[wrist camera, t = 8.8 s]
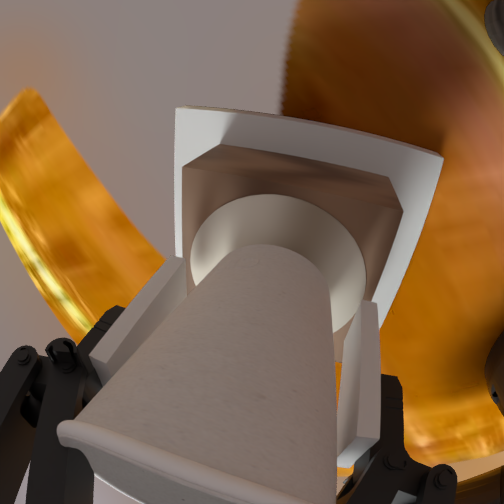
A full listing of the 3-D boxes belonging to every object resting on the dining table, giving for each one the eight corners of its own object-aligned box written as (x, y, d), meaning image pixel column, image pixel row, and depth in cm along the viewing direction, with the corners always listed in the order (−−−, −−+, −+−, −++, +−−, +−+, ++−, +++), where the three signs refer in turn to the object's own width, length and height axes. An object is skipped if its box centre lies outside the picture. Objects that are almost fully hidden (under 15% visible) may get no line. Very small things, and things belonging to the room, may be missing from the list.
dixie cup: (156, 241, 15) (11, 405, 6) (332, 189, 11) (282, 483, 3) (228, 363, 18) (162, 516, 10) (374, 347, 15) (358, 548, 6)
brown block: (388, 177, 17) (404, 212, 12) (346, 310, 22) (343, 364, 18) (219, 144, 18) (181, 167, 14) (212, 278, 24) (184, 324, 19)
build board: (437, 152, 16) (444, 158, 15) (375, 323, 24) (375, 336, 22) (186, 105, 19) (175, 108, 18) (185, 278, 26) (177, 289, 25)
